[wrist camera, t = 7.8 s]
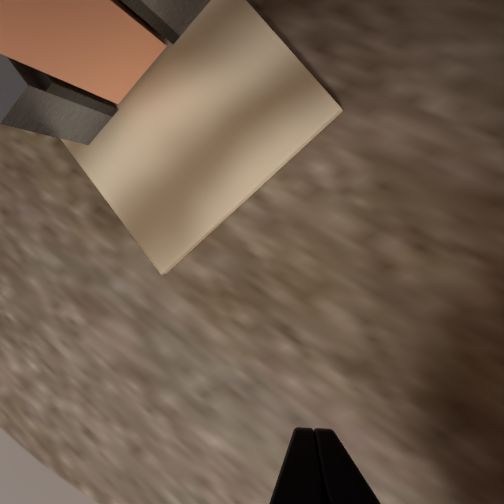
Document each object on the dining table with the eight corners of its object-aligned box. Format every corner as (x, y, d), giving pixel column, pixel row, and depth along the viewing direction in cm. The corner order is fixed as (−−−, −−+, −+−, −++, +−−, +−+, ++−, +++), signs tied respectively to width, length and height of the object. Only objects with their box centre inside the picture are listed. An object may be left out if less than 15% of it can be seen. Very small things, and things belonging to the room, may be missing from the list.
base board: (342, 111, 20) (341, 108, 19) (166, 273, 24) (161, 274, 23) (133, -126, 22) (127, -135, 22) (7, 59, 26) (-1, 56, 26)
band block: (223, -15, 20) (164, -104, 15) (79, 156, 24) (-11, 138, 19) (138, -112, 21) (52, -229, 16) (13, 67, 25) (-91, 25, 20)
